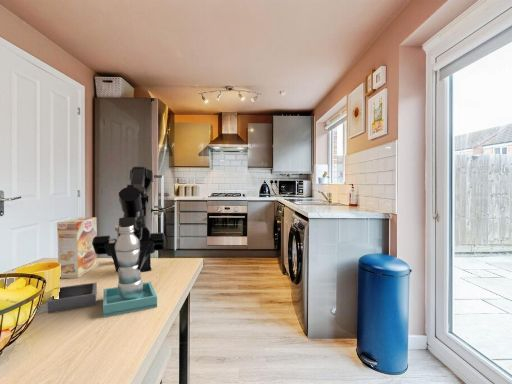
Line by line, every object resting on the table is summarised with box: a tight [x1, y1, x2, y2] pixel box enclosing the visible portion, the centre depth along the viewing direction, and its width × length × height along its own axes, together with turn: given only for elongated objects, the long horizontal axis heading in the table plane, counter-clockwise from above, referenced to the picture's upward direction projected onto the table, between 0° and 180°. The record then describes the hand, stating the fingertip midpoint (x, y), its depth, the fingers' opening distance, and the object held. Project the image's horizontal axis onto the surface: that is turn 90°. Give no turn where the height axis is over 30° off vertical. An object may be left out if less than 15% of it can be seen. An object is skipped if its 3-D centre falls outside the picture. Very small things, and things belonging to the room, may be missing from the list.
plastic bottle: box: [115, 225, 144, 299], centre depth 80 cm, size 6×7×20 cm
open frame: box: [46, 281, 98, 314], centre depth 81 cm, size 11×11×3 cm
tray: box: [102, 281, 158, 318], centre depth 80 cm, size 13×13×3 cm
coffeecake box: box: [56, 216, 98, 279], centre depth 108 cm, size 15×7×20 cm, turn 5°
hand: (128, 270), depth 79 cm, fingers closed on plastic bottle, 5 cm apart
